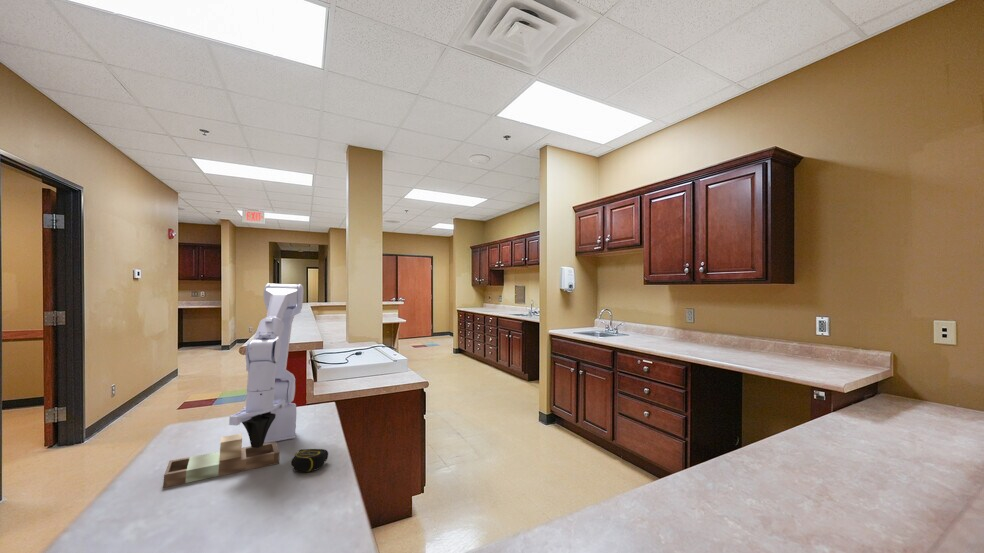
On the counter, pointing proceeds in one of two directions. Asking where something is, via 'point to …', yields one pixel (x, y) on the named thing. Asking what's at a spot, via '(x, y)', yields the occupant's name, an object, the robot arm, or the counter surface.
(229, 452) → the beech block
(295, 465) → the tape measure
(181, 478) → the frame
